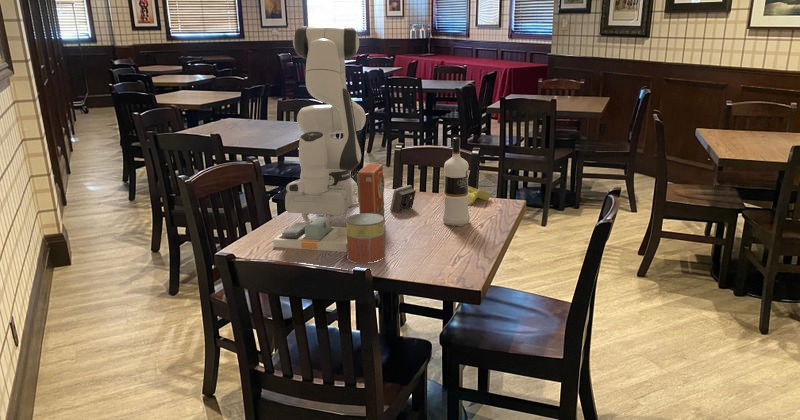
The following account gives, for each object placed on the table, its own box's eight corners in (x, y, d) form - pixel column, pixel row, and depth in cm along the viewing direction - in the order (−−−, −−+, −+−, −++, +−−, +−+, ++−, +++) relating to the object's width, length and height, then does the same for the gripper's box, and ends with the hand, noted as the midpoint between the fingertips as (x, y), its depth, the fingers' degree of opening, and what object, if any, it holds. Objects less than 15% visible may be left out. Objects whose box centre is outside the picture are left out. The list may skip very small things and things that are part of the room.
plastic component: (493, 195, 236) (477, 188, 230) (486, 212, 237) (470, 206, 230) (458, 182, 251) (443, 175, 244) (452, 198, 251) (436, 192, 245)
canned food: (367, 247, 188) (365, 210, 185) (393, 255, 181) (391, 217, 177) (339, 257, 181) (337, 219, 177) (365, 266, 173) (363, 227, 170)
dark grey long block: (297, 233, 201) (296, 222, 200) (309, 234, 200) (308, 223, 199) (283, 244, 191) (282, 233, 190) (296, 245, 190) (295, 233, 189)
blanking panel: (318, 228, 199) (317, 217, 198) (331, 229, 198) (330, 217, 197) (305, 239, 189) (304, 227, 188) (318, 240, 188) (318, 228, 187)
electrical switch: (406, 206, 232) (407, 183, 229) (416, 209, 229) (417, 186, 226) (389, 212, 225) (390, 188, 222) (399, 215, 222) (400, 191, 219)
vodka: (449, 217, 217) (449, 134, 208) (473, 220, 212) (474, 136, 204) (438, 224, 209) (438, 138, 200) (463, 228, 204) (463, 140, 196)
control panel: (387, 222, 212) (377, 236, 198) (368, 222, 214) (356, 235, 200) (385, 163, 206) (374, 173, 192) (365, 162, 208) (353, 172, 194)
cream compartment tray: (293, 232, 204) (293, 223, 203) (362, 237, 198) (361, 227, 197) (273, 248, 190) (272, 238, 189) (346, 253, 184) (346, 243, 183)
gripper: (349, 183, 189) (352, 225, 193) (289, 181, 194) (292, 222, 198) (343, 188, 183) (345, 231, 187) (281, 185, 188) (284, 228, 192)
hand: (318, 226), depth 192 cm, fingers open, 4 cm apart
